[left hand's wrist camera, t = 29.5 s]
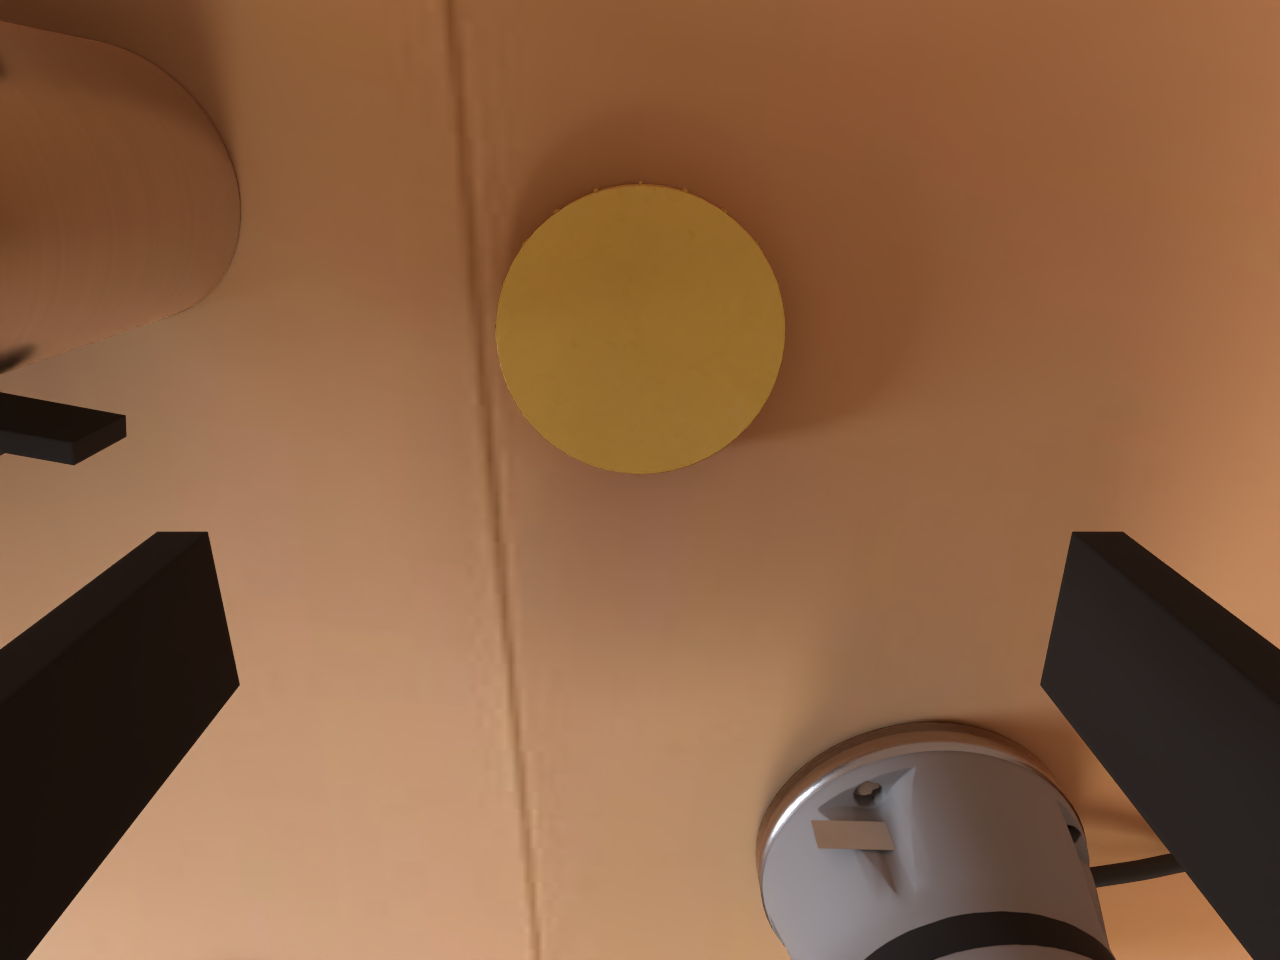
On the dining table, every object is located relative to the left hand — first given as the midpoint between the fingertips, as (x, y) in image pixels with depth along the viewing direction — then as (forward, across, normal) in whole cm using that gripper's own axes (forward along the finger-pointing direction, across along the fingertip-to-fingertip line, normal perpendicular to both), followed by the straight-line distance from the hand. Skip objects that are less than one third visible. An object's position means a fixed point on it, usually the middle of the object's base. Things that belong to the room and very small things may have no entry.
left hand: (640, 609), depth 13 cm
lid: (+18, 0, -1) cm, 18 cm away
